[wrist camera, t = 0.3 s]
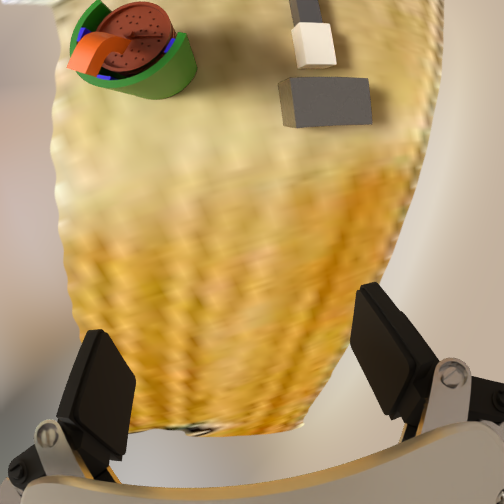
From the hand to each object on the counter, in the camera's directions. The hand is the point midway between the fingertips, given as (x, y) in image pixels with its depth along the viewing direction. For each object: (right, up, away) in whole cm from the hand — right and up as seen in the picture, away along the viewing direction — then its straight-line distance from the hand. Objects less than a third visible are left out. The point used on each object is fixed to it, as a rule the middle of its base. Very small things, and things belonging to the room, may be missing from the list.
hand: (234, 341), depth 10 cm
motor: (-11, +27, +19) cm, 35 cm away
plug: (+7, +37, +16) cm, 41 cm away
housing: (+9, +23, +24) cm, 35 cm away
